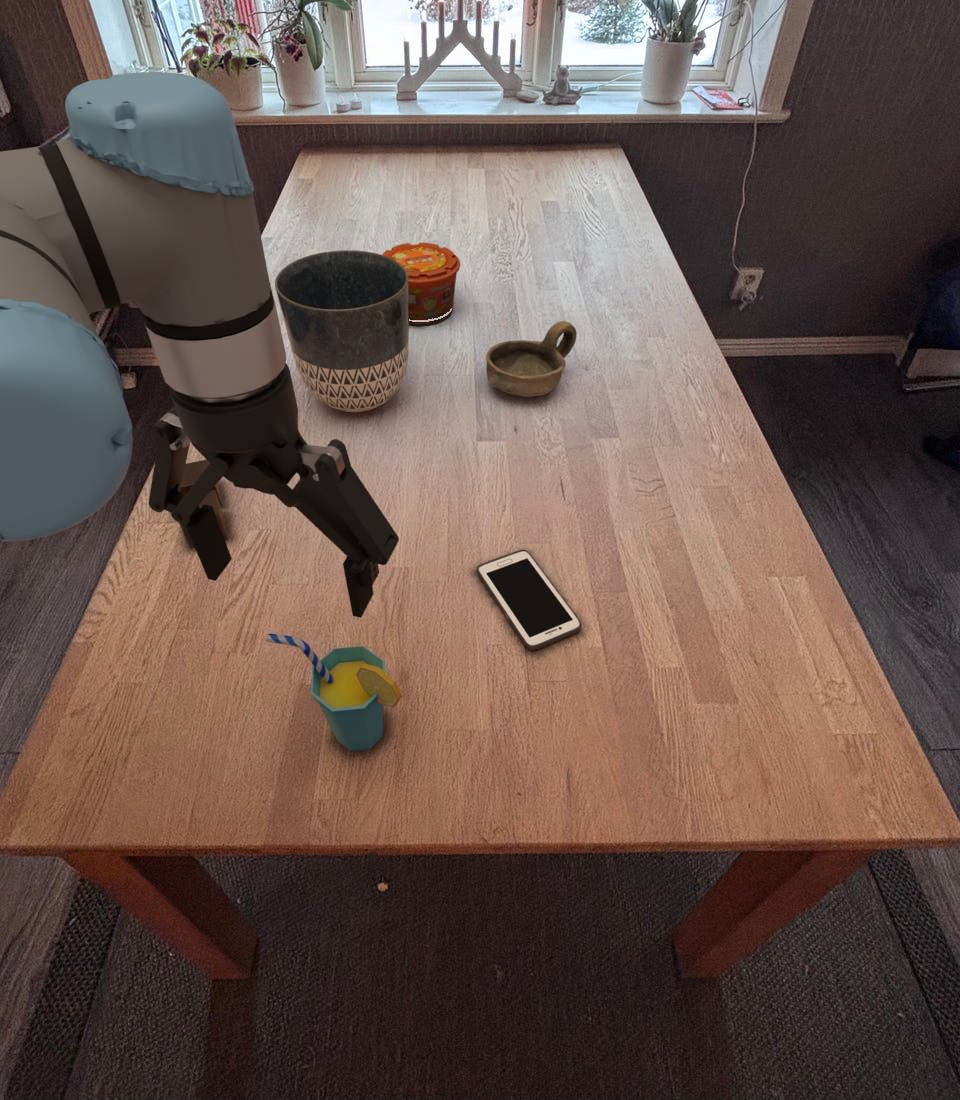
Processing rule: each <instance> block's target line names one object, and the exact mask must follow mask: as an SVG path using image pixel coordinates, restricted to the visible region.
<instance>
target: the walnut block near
mask: <svg viewBox="0 0 960 1100" xmlns="http://www.w3.org/2000/svg"><path fill="white" fill-rule="evenodd" d="M204 504H206V505H210V506H213V509H214V512H215V515H216V517H217V520H218V523H219V525H220V528H221V531H222V534H223V536H224V539H225V541H229V537H228V531H227V530H228V529H227V525H226V519H225V515H224V512H223V509H222V507H221V506H220V503H219V500H218V497H217V495H216V492H215V490H211V491H210V493H209V494H208V495H207V496H206V497H205V499H204V500H203V501H202V502H201V503H200V505H199V508H200V509H201V507H202V506H203V505H204ZM178 524H179V527H180V529H181V531H182V533H183V535H184V537H185V534H184V532H183V530H182V527H181V525H180V523H179V522H178ZM185 539H186V537H185ZM186 542H187V545H188V547H189V549H195V547H194V546H193V545H191V544H190V543H189V542H188V541H187V539H186Z"/></svg>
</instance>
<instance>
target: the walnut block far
mask: <svg viewBox="0 0 960 1100" xmlns="http://www.w3.org/2000/svg"><path fill="white" fill-rule="evenodd" d="M209 464H210V462H209V461H208V460H207V459H206V458H205V459H202V460H197V461H191V462H186V465H185V469H184V474H183V479H182V484H181V488H180V492H181V493H183V494H185V495H186V494H187V492H188V491H189V490H190V489H191V487H192V486H193V485H194V484H195V482H196V481H197V480H198V478H199V477H200V475H201V474H202V473H203V472H204V470H205V469H206V468H207V467H208V465H209ZM212 490H215V492H216V495H217V497H218V500H219V503H220V506H221V508H222V507H223V502H222V501H223V500H222V495H221V489H220V484H219V482H218V483H217V484H216V485H215V487H214V488H213V489H212Z"/></svg>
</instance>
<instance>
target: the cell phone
mask: <svg viewBox="0 0 960 1100" xmlns="http://www.w3.org/2000/svg"><path fill="white" fill-rule="evenodd" d="M476 573H477V575H478V577H479V578H480V580H481V582H482V583H483V585H484V586H485V588H486V589H487V591H488V592H489V594H490V595H491V596H492V598H493V600H494V601H495V602H496V604H497V606H498V607H499V609H500V610H501V612H502V614H503V615H504V616H506V618H507V620H508V622H509V624H510V625H511V627H512V629H513V630H514V631H515V633H516V635H517V636H518V638H519V639H520V641H521V642H522V643H523V645H524V646H525V648H527V649H528V650H529V651H536V650H539V649H542V648H545V647H546V646H548V645H551V644H553V643H556V642H558V641H561V640H563V639H565V638H568V637H571V636H572V635H575V634H577V633H579V632H580V631H581V629H582V622H581V620H580V618H579V617H578V616H577V614H576V613H575V612H574V610H573V609H572V608H571V606H570V605H569V603H568V602H567V601H566V600H565V598H564V597H563V596H562V594H561V592H559V590H558V589H557V588H556V586H555V585H554V584H553V582H552V580H551V579H550V578H549V577H548V575H547V574H546V573H545V571H544V570H543V568H541V566H540V565H539V563H538V562H537V560H536V559H535V558H534V557H533V556H532V554H531V553H530V552H529V551H528V550H527V549H519V550H516V551H512V552H510V553H508V554H505V555H502V556H499V557H497V558H494V559H491V560H488V561H485V562H483V563H481V564H479V565H478V566H477V567H476Z"/></svg>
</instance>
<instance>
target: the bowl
mask: <svg viewBox="0 0 960 1100" xmlns="http://www.w3.org/2000/svg"><path fill="white" fill-rule="evenodd" d="M561 336H562V337H561ZM560 337H561V340H560V341H559V339H560ZM576 341H577V329H576V327H575V326H574V325H573V324H572V323H571V322H569V321H566V320H561V321H557V322H556V323H554V324H553V325H551V326H550V327H549V329H548V330H547V332H546V334H545V336H544V338H543V340H541V341H537V340H527V339H526V340H525V339H524V340H523V339H521V340H519V339H518V340H517V339H516V340H506V341H503V342H498V343H496V344H494V345H493V346H490V348H489V350H488V351H487V352H486V354H485V360H486V366H485V367H486V368H485V371H486V377H487V380H488V382H489V384H490V385H491V386H492V387H494V388H496V389H498V390H500V391H502V392H505V393H507V394H510V395H514V396H520V397H538V396H544V395H546V394H549V393H550V392H552V391H554V389H556V388H557V386H558V385H559V383H560V381H561V378H562V376H563V370H564V368H565V366H566V359H565V358H566V357H567V356H568V355H569V354H570V352H571V351H572V350H573V348H574V346H575V343H576ZM558 342H559V343H558Z"/></svg>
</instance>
